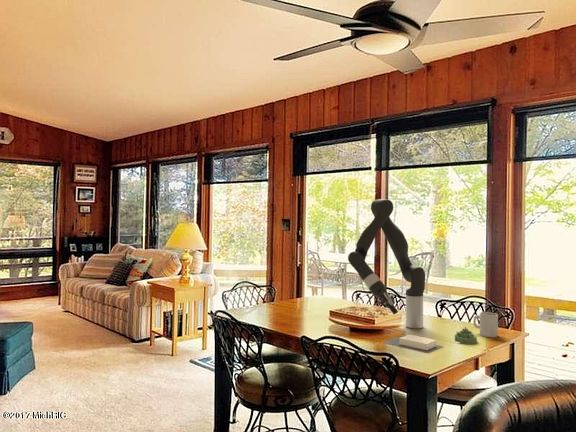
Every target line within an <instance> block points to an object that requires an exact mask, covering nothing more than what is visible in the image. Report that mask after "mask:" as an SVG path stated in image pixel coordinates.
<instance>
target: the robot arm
mask: <svg viewBox="0 0 576 432" xmlns="http://www.w3.org/2000/svg"><path fill="white" fill-rule="evenodd" d="M370 211H371V212H372V215H373V217H374V219H373V220H372V221H371V222H370V223H369V224H368V225H367V226H366V227H365V228H364V230H363V231H362V233H361V234H360V236H359V238H358V240H357V242H356V243H355V244H356V245H355V246H356V248H355V250H354V251H351V252H350V253H349V254H348V256H347V260H348V262H349V264H350V265H351V266H352V267H353V269H354V270H355V271H356V272H357V273H358V275H359V277H360V279H361V280H362V281H363V283H364V285H365V286H366V288H367V289H368V291H369V292H370V293H371V294H372V296H373V297H376V298H377V299H376V302H377V303H379V304H380V305H381V306H383V307H384V308H387V309H389V310H390V311H391V312H392V314H393V315H396V314H397V313H398V312H399V310H398V309H397V308H396V306H395V303H396V302H395V297H394V295H393V294H391V295H390V294H389V292H388V291H386V290H387V287H386V285H385V284H384V282H383V281H382V280H381V278H379V276H378V274H376V273H375V272H374V270H373V269H372V268H371V267H370V266H369V264H368V263H367V262H366V258H367V255H368V252H369V250H370V248H371V245H372V244H373V242H374V240H375V239H376V237H377V235H378V233H379V231H380V230H382V232H383V235H384V236H385V238H386V241H387V242H388V245H389V247H390V249H391V251H392V252H393V253H392V254H393V255H394V257H395V259H396V261H397V264H398V265H399V269H400V272H401V275H402V277H403V278H404V280H405V281H406V282H408V283H410V287H409V288H408V289H407V288H406V290H405V328H410V329H423V328H424V292H425V291H426V289H425V287H426V271H425V269H424V268H423V267H421V266H417V265H413V264H412V263H413V262H412V261H411V259H410V257H409V243H408V241H407V239H406V237H405V235H404V233H403V231H402V230H401V229H400V228H399V227H398V226H397V225H396V224H395V223H394V222H393V220H392V219H391V217H390V216H391V215H392V213H393V211H394V203H393V202H392V201H391V200H390V199H386V198H378V199H374V200H372V202H371V204H370Z"/></svg>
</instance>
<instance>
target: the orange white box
mask: <svg viewBox="0 0 576 432" xmlns="http://www.w3.org/2000/svg"><path fill="white" fill-rule="evenodd" d="M400 337H401V336H400ZM437 341H438V340H437V339H433V338H429V337H423V336H419V335H414V334H407V335H405V336H402V337H401V338H399V344H400V345H404V346H408V347H413V348H417V349H422V350H426V351H427V350H429V349H432V348H434V347H436V346H437V345H438V342H437Z"/></svg>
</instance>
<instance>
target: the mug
mask: <svg viewBox="0 0 576 432" xmlns="http://www.w3.org/2000/svg"><path fill="white" fill-rule="evenodd" d="M477 319H479V325H478V324H477V323H476V321H477ZM473 326H474V328H476V329H479V335H480V336H482V337H485V338H486V337H487V338H498V337H499V315H498V313H495V312H491V311H482V312H480V313H479V314H476V315H474V316H473ZM497 336H498V337H497Z"/></svg>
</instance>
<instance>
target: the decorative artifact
mask: <svg viewBox="0 0 576 432" xmlns="http://www.w3.org/2000/svg"><path fill="white" fill-rule="evenodd" d="M477 340H478V337H477V335H475V334H474V332H473V331H471V330H469V328H467V327H466V326H464V328H462V329H461V330H460V331H456V334H454V342H459V343H460V344H465V345H474V344H477V342H478V341H477Z"/></svg>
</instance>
